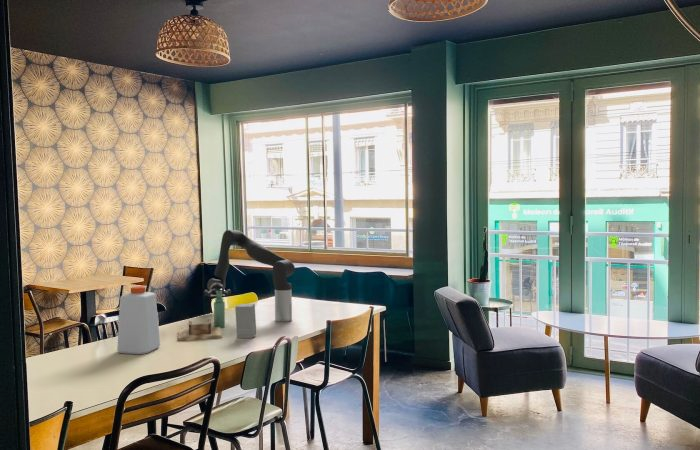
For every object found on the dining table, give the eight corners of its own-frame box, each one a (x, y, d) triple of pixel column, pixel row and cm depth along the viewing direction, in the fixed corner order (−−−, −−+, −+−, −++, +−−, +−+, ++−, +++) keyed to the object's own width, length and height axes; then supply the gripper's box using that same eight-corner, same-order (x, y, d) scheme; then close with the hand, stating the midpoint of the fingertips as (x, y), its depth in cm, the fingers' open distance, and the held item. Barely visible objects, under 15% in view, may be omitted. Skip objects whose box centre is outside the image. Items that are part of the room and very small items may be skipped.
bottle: (225, 325, 289) (225, 290, 288) (224, 328, 283) (223, 291, 282) (215, 325, 288) (214, 290, 287) (213, 328, 283) (212, 292, 282)
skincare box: (256, 335, 267) (256, 303, 267) (252, 338, 260) (252, 306, 260) (239, 334, 268) (239, 303, 268) (235, 338, 261) (234, 305, 260)
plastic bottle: (144, 355, 232) (143, 290, 231) (113, 353, 235) (111, 289, 234) (163, 346, 247) (162, 285, 246) (133, 344, 250) (132, 284, 249)
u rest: (220, 329, 279) (220, 317, 279) (221, 338, 262) (221, 324, 262) (179, 332, 274) (179, 319, 274) (178, 340, 257) (177, 327, 256)
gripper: (204, 283, 309) (204, 288, 294) (229, 283, 313) (231, 287, 298) (204, 296, 310) (204, 302, 294) (229, 295, 314) (231, 301, 298)
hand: (218, 294), depth 296 cm, fingers open, 8 cm apart
